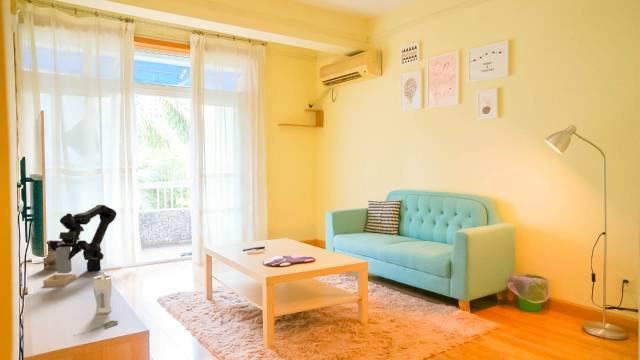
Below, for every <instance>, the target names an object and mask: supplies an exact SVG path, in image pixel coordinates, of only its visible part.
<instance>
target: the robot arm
mask: <svg viewBox="0 0 640 360" xmlns="http://www.w3.org/2000/svg"><path fill="white" fill-rule="evenodd" d="M97 216H99V220H100V221H99V224H98V226H97V228H96V230H95V234H94V235H93V237H92V240H91V242H90V243H89V242H87V240H80V235H81V232H85V230H84V227H83V225H84V226H85V225H88V224H89V223H90V222H91V220H92V219H93V218H95V217H97ZM116 217H117V212H116V210H115V209H113V208H111V207H108V206H107V205H105V204H97V205H95V207H92V208H90V209H89V210H87V211H85V212H79V213H76V214H72V213H69V212H68V213H67V214H65V215H63V216H62V217H61V218H60V219H59V223H60V224H61V225H62V226H63V227H64V228H65V229H67V230H68V232H67V231H64V232H59V235H58V236H59V237H58V239H59V240H53V241H50V240H49V241H50V242H49V244H48V245H49V246H50V248H51V249H52V250H54V251H56V249H57V248H59V247H70V248H71V252H70V255H69V258H68V259H69V260H70V259H71V260H72V258H73V257H75V256H76V255H77V254H79V253H80V252H82V255H83V258H84V261H87V262H86V270H87V272H96V271H97V272H98V271H101V269H102V267H101V266H102V265H101V261H102V260H103V259H104V256H105V255H104V253H102V248H101V243H102V241H103V239H104V236H105V235H106V232H107V229H108V227H109V226H110V224H111V223H113V222H114V221H115V219H116ZM60 240H61V241H62V242H64V243H59V241H60Z"/></svg>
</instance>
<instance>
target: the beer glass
mask: <svg viewBox="0 0 640 360" xmlns="http://www.w3.org/2000/svg"><path fill="white" fill-rule="evenodd" d="M111 277H112V276H111V275H99V276H96V277H94V278H93V293H94V299H95V303H96V309H95V314H97V315H106V314H108V313H111V311H112V306H111V298H112V297H111V296H112V290H113V289H112V288H113V286H112V278H111Z"/></svg>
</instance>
